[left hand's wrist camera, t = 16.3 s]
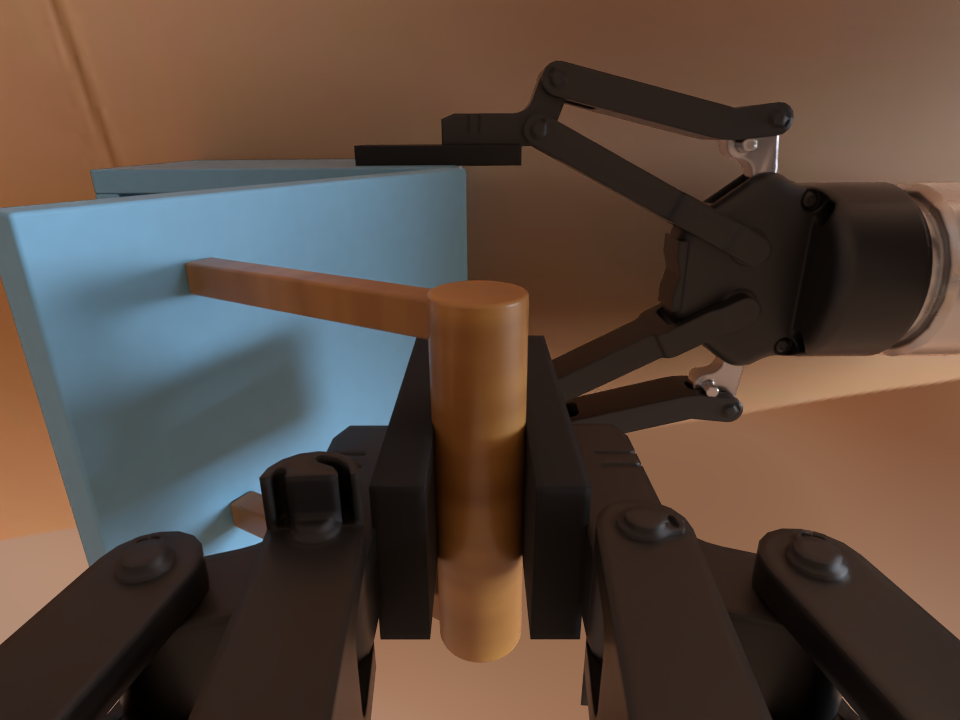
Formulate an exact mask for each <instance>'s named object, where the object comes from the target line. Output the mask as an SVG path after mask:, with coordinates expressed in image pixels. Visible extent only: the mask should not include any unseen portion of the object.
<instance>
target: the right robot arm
mask: <svg viewBox="0 0 960 720" xmlns="http://www.w3.org/2000/svg"><path fill="white" fill-rule="evenodd" d="M563 104H567V105H571V106H575V107H579V108H583V109H586V110H590V111H594V112H598V113H601V114H605V115H609V116H613V117H617V118H620V119H624V120H628V121H632V122H636V123H639V124H643V125H647V126H651V127H654V128H658V129H662V130H666V131H670V132H673V133H677V134H681V135H685V136H689V137H693V138H698V139H709V140H719V150H720V152H721V154H722V155H723V156H724V157H726V158H728V159H734V160H737V161H738V162H739V163H740V164H741V165H742V167H743V172H744V174H743V175H741V176H739V177H738V178H736V179H735V180H733V181H732V182H731V183H729V184H728V185H726V186H725V187H723V188H722V189H720V190H719V191H718V192H716V193H715V194H713V195H712V196H710V197H709V198H707V199H706V200H704V201H703V202H701V201H699V200H697V199H696V198H694V197H692V196H690V195H688V194H686V193H684V192H682V191H680V190H678V189H676V188H674V187H673V186H671V185H669V184H667V183H666V182H664V181H662V180H660V179H658V178H657V177H655V176H653V175H651V174H650V173H648V172H646V171H644V170H643V169H641V168H639V167H637V166H636V165H634V164H632V163H630V162H629V161H627V160H625V159H623V158H621V157H620V156H618V155H616V154H614V153H613V152H611V151H609V150H607V149H606V148H604V147H602V146H600V145H599V144H597V143H595V142H593V141H592V140H590V139H588V138H586V137H584V136H583V135H581V134H579V133H577V132H576V131H574V130H572V129H570V128H569V127H567V126H565V125H563V124H562V123H560V122H558V121H557V120H558V118H559V115H560V112H561V110H562V107H563ZM793 118H794V116H793V110H792V109H791V107H790V106H789V105H788V104H786V103H781V102H777V103H768V104H759V105H750V106H741V107H730V106H726V105H723V104H719V103H715V102H712V101H708V100H704V99H700V98H697V97H693V96H689V95H686V94H682V93H678V92H675V91H671V90H667V89H664V88H660V87H656V86H652V85H649V84H645V83H641V82H638V81H634V80H630V79H627V78H623V77H619V76H615V75H612V74H608V73H604V72H601V71H597V70H593V69H590V68H586V67H582V66H579V65H575V64H571V63H567V62H564V61H554V62H552V63H550V64H549V65H548V66H547V67H546V68H545V69H544V70H543V71H542V72H541V73H540V74H539V76H538V78H537V82H536V85H535V88H534V91H533V93H532V96H531V99H530V102H529V104H528V105H527V107H526V108H525V109H524V110H523V111H521V112H519V113H498V114H452V115H450V116H448V117H445V118H443V119H441V124H442V144H437V145H360V146H354V149H355V162H356V166H408V165H456V166H509V165H521V147H522V146H532V147H534V148H535V149H537V150H539V151H541V152H543V153H545V154H546V155H548V156H550V157H552V158H554V159H555V160H557V161H559V162H561V163H563V164H564V165H566V166H568V167H570V168H572V169H573V170H575V171H577V172H579V173H581V174H582V175H584V176H586V177H588V178H590V179H591V180H593V181H595V182H597V183H599V184H600V185H602V186H604V187H606V188H608V189H609V190H611V191H613V192H615V193H617V194H618V195H620V196H622V197H624V198H626V199H627V200H629V201H631V202H633V203H635V204H636V205H638V206H640V207H642V208H644V209H645V210H647V211H649V212H650V213H652V214H654V215H656V216H657V217H659V218H661V219H663V220H665V221H666V222H668V223H670V224H672V225H674V226H673V227H672V229H671V231H670V233H665V242H664V256H665V262H666V270H665V272H664V275H663V278H662V280H661V283H660V289H659V298H658V300H659V301H660V302H661V303H660V304H658V305H656V306H654V307H652V308H650V309H648V310H646V311H644V312H643V313H641V314H640V316H639V317H638V318H637V319H636V320H634V321H632V322H630V323H628V324H626V325H624V326H622V327H620V328H618V329H616V330H613V331H611V332H609V333H607V334H605V335H603V336H601V337H599V338H597V339H595V340H593V341H591V342H589V343H586V344H584V345H582V346H580V347H578V348H576V349H574V350H572V351H570V352H568V353H566V354H564V355H562V356H560V357H557V358H555V359H553V360H552V363H553V366H554V370H555V373H556V376H557V379H558V382H559V385H560V388H561V392H562V395H563V398H564V401H565V404H566V407H567V410H568V413H569V417H570V420H571V423H572V424H612V425H613V426H615V427H616V428H617V429H619V430H620V431H621V432H623V433H628V432H633V431H637V430H642V429H647V428H651V427H656V426H660V425H665V424H669V423H674V422H679V421H683V420H688V419H700V420H711V421H722V422H732V421H734V420H736V419H738V418H739V417H740V416H741V414H742V412H743V406H742V403H741V402H740V401H739V400H738V399H737V398H736V397H735V396H736V392H737V388H738V385H739V381H740V378H741V374H742V371H743V367H744V365H748V364H751V363H753V362H755V361H757V360H759V359H761V358H764V357H767V356H772V355H784V356H869V355H875V354H878V353H879V354H883V355H888V356H930V355H960V182H914V183H901V184H898V185H893V184H889V183H795V182H792V181H790V180H788V179H787V178H785V177H784V176H782V175H781V174H778V173H777V163H778V147H779V135H781V134H783V133H784V132H786V131H787V130H788V129H789V128H790V126H791V125H792V122H793ZM699 345H703V346H704V347H705V348H707V349H708V350H709V351H711V352H712V353H713V354H715V355H716V357H715V360H714V361H713V362H712V363H711V364H710V365H708V366H705V367H698V368H696V367H695V368H692V369H691V370H690V372H689V376H671V377H665V378H660V379H655V380H651V381H646V382H642V383H638V384H633V385H629V386H624V387H620V388H615V389H611V390H607V391H602V392H598V393H593V394H589V395H584V396H580V395H582V394H584V393H586V392H589V391H591V390H593V389H595V388H597V387H599V386H601V385H604V384H606V383H608V382H610V381H612V380H614V379H616V378H619V377H621V376H623V375H625V374H627V373H629V372H631V371H634V370H636V369H638V368H640V367H642V366H644V365H646V364H649V363H651V362H653V361H655V360H657V359H660V358H672V357H675V356H678V355H680V354H682V353H684V352H686V351H688V350H691V349H693V348H695V347H697V346H699ZM578 396H580V397H578Z"/></svg>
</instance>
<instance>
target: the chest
mask: <svg viewBox="0 0 960 720" xmlns="http://www.w3.org/2000/svg"><path fill="white" fill-rule="evenodd" d="M437 168H462V166H456V165H408V166H356V162H355V159H274V160H192V161H182V162H171V163H160V164H149V165H138V166H127V167H116V168H105V169H94V170H91V171H90V173H91V177H92V181H93V185H94V190H95V193H97V194H96V199H105V198H116V197H127V196H138V195H149V194H161V193H172V192H183V191H194V190H205V189H216V188H227V187H238V186H249V185H260V184H271V183H282V182H293V181H304V180H316V179H327V178H338V177H349V176H360V175H371V174H382V173H393V172H404V171H415V170H426V169H437Z"/></svg>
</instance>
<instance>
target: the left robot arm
mask: <svg viewBox="0 0 960 720" xmlns="http://www.w3.org/2000/svg"><path fill="white" fill-rule="evenodd" d="M259 481H260V487H261V494H262V500H263V507H264V513H265V520H266V526H267V531H266V533H265V536H264V538H263V541H262V542H260V543H257V544H255V545H252V546H248V547H244V548H241V549H237V550H232V551H227V552H222V553H217V554H213V555H208V556H204V551H203V547H202V543H201V542H200V541H199V540H198V539H197V538H196V537H195V536H194V535H191V534H187V533H184V532H180V531H165V532H156V533H151V534H146V535H142V536H139V537H136V538H134V539H132V540H130V541H127V542H125V543H123V544H120V545H118V546H117V547H115V548H114V549H112V550H111V551H109V552H108V553H106V554H105V555H103V556H102V557H101V558H99V559H98V560H97V561H96V562H95V563H94V564H92V565H91V566H90V567H89V568H88V569H87V570H86V571H84V572H83V573H82V574H81V575H80V576H79V577H78V578H76V579H75V580H74V581H73V582H72V583H71V584H70V585H68V586H67V587H66V588H65V589H64V590H63V591H61V592H60V593H59V594H58V595H57V596H56V597H55V598H54V599H52V600H51V601H50V602H49V603H48V604H47V605H45V606H44V607H43V608H42V609H41V610H40V611H39V612H37V613H36V614H35V615H34V616H33V617H32V618H31V619H29V620H28V621H27V622H26V623H25V624H24V625H23V626H21V627H20V628H19V629H18V630H17V631H16V632H15V633H13V634H12V635H11V636H10V637H9V638H8V639H7V640H5V641H4V642H3V643H2V644H1V645H0V720H371V710H372V700H373V691H374V681H375V671H376V662H375V650H374V637H375V633H376V628H377V623H378V619H379V624H380V637H381V639H430V634H431V624H432V614H433V604H434V594H435V584H436V574H437V564H438V534H437V504H436V475H435V445H434V425H433V423H432V418H431V394H430V369H429V344H428V340H427V339H422V338H416V340H415V343H414V346H413V350H412V353H411V356H410V359H409V362H408V365H407V368H406V372H405V375H404V378H403V381H402V384H401V387H400V390H399V393H398V397H397V400H396V403H395V406H394V409H393V412H392V415H391V419H390V422H389V425H350V426H349V427H347V428H346V429H345V430H343V431H342V432H341V433H339V434H338V435H337V436H335V437H334V438H333V439H332V441H331V444H330V446H329V448H328V450H327V452H325V451H315V452H308V453H300V454H297V455H294V456H291V457H288V458H285V459H282V460H280V461H278V462H277V463H275V464H273V465H272V466H270V467H268V468H267V469H266V470H265V472H264V473H263V474H262V475H261V476H260V477H259ZM522 558H523V568H524V578H525V589H526V598H527V609H528V619H529V629H530V639H580V631H581V618H583V622H584V627H585V632H586V637H587V638H586V650H585V662H584V674H583V686H582V698H581V705H587V706H588V709H589V719H590V720H960V640H959V639H958V638H957V637H955V636H954V635H953V634H952V633H951V632H950V631H948V630H947V629H946V628H945V627H944V626H943V625H942V624H940V623H939V622H938V621H937V620H936V619H935V618H933V617H932V616H931V615H930V614H929V613H928V612H927V611H925V610H924V609H923V608H922V607H921V606H920V605H918V604H917V603H916V602H915V601H914V600H913V599H912V598H910V597H909V596H908V595H907V594H906V593H905V592H903V591H902V590H901V589H900V588H899V587H898V586H896V585H895V584H894V583H893V582H892V581H891V580H890V579H888V578H887V577H886V576H885V575H884V574H883V573H881V572H880V571H879V570H878V569H877V568H876V567H875V566H873V565H872V564H871V563H870V562H869V561H868V560H866V559H865V558H864V557H863V556H862V555H860V554H859V553H857V552H856V551H855V550H853V549H852V548H850V547H849V546H847V545H846V544H844V543H842V542H840V541H838V540H835V539H833V538H831V537H828V536H826V535H824V534H821V533H818V532H814V531H813V532H812V531H809V530H803V529H779V530H775V531H772V532H768V533H767V534H766V535H765V536H764V537H763V538H762V539H761V540H760V541H759V545H758V550H757V554H756V553H751V552H746V551H741V550H736V549H732V548H727V547H722V546H718V545H715V544H711V543H708V542H705V541H702V540H700V539H698V538H697V537H696V535H695V532H694V530H693V528H692V527H691V525H690V524H689V523H688V521H687V520H686V519H685V518H684V517H683V516H682V515H680V514H679V513H677V512H676V511H674V510H673V509H671V508H669V507H666V506H664V505H661V503H660V501H659V499H658V497H657V495H656V493H655V491H654V489H653V487H652V485H651V483H650V481H649V478H648V476H647V475H646V472H645V470H644V468H643V466H641V462H640V460H639V458H638V456H637V454H635V450H634V448H633V446H632V444H631V442H630V440H629V438H628V436H627V435H625V434H624V433H623V432H621V431H620V430H619V429H617V428H616V427H615V426H613V425H612V424H572V423H571V420H570V417H569V413H568V410H567V407H566V404H565V401H564V398H563V395H562V392H561V388H560V385H559V382H558V379H557V376H556V373H555V370H554V366H553V363H552V360H551V357H550V354H549V351H548V348H547V344H546V341H545V338H544V336H528V360H527V402H526V437H525V472H524V508H523V543H522ZM842 696H843V697H844V698H845V700H846V701H847V702H848V703H849V704H850V706H851V707H852V708H853V709H854V710H855V712H856V713H857V714H858V715H859V716H858V715H857V714H856V713H855V712H854V711H853V710H852V709H851V708H850V707H849V706H848V704H847V703H846V702H845V701H844V700H843V698H842ZM118 700H119V701H118ZM117 701H118V702H117ZM116 702H117V703H116ZM115 703H116V705H115ZM114 705H115V706H114ZM113 706H114V707H113ZM112 707H113V708H112ZM111 708H112V710H111V711H110V709H111ZM109 711H110V712H109ZM108 712H109V713H108ZM107 713H108V714H107Z"/></svg>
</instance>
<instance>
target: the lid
mask: <svg viewBox="0 0 960 720" xmlns="http://www.w3.org/2000/svg"><path fill="white" fill-rule="evenodd" d="M0 275H1V279H2V282H3V285H4V289H5V292H6V295H7V298H8V302H9V305H10V308H11V312H12V315H13V318H14V321H15V325H16V328H17V331H18V335H19V338H20V341H21V344H22V348H23V351H24V354H25V358H26V361H27V364H28V367H29V371H30V374H31V377H32V380H33V384H34V387H35V390H36V394H37V397H38V400H39V403H40V407H41V410H42V413H43V417H44V420H45V423H46V426H47V430H48V433H49V436H50V440H51V443H52V446H53V449H54V453H55V456H56V459H57V463H58V466H59V469H60V472H61V476H62V479H63V482H64V485H65V489H66V492H67V495H68V499H69V502H70V505H71V508H72V512H73V515H74V518H75V522H76V525H77V528H78V531H79V535H80V538H81V541H82V544H83V548H84V551H85V554H86V558H87V561H88V564H89V567H90V566H91V565H92V564H94V563H95V562H96V561H97V560H98V559H99V558H101V557H102V556H103V555H105V554H106V553H108V552H109V551H111V550H112V549H114V548H115V547H117V546H118V545H120V544H123V543H125V542H127V541H130V540H132V539H134V538H136V537H139V536H142V535H146V534H151V533H156V532H165V531H180V532H184V533H187V534H191V535H194V536H195V537H196V538H197V539H198V540H199V541H200V542H201V543H202V547H203V551H204V556H208V555H213V554H217V553H222V552H227V551H232V550H237V549H241V548H244V547H248V546H252V545H255V544H257V543H260V542H262V541H263V538H264V536H265V533H266V531H267V526H266V520H265V513H264V507H263V500H262V494H261V487H260V481H259V477H260V476H261V475H262V474H263V473H264V472H265V470H266V469H267V468H268V467H270V466H272V465H273V464H275V463H277V462H278V461H280V460H282V459H285V458H288V457H291V456H294V455H297V454H300V453H308V452H315V451H325V452H327V450H328V448H329V446H330V444H331V441H332V439H333V438H334V437H335V436H337V435H338V434H339V433H341V432H342V431H343V430H345V429H346V428H347V427H349V426H350V425H389V422H390V419H391V415H392V412H393V409H394V406H395V403H396V400H397V397H398V393H399V390H400V387H401V384H402V381H403V378H404V375H405V372H406V368H407V365H408V362H409V359H410V356H411V353H412V350H413V346H414V343H415V340H416V338H422V339H427V340H428V344H429V369H430V394H431V418H432V423H433V425H434V445H435V475H436V504H437V534H438V564H437V574H436V584H435V594H434V604H433V614H432V617H434V618H436V619H438V620H440V634H441V638H442V641H443V642H444V644H445V646H446V647H447V648H448V650H449V651H450V652H451V653H453V654H454V655H455V656H457V657H459V658H461V659H463V660H466V661H470V662H479V663H482V662H491V661H494V660H497V659H500V658H502V657H504V656H505V655H507V654H508V653H509V652H510V651H511V650H513V648H514V647H515V646H516V644H517V642H518V641H519V638H520V634H521V610H522V568H523V558H522V543H523V508H524V472H525V437H526V402H527V360H528V319H529V294H528V292H527V290H526V289H524V288H523V287H520V286H517V285H514V284H511V283H506V282H500V281H487V280H471V281H468V268H467V199H466V169H464V168H437V169H426V170H415V171H404V172H393V173H382V174H371V175H360V176H349V177H338V178H327V179H316V180H304V181H293V182H282V183H271V184H260V185H249V186H238V187H227V188H216V189H205V190H194V191H183V192H172V193H161V194H149V195H138V196H127V197H116V198H105V199H94V200H83V201H72V202H61V203H50V204H39V205H28V206H17V207H5V208H0Z"/></svg>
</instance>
